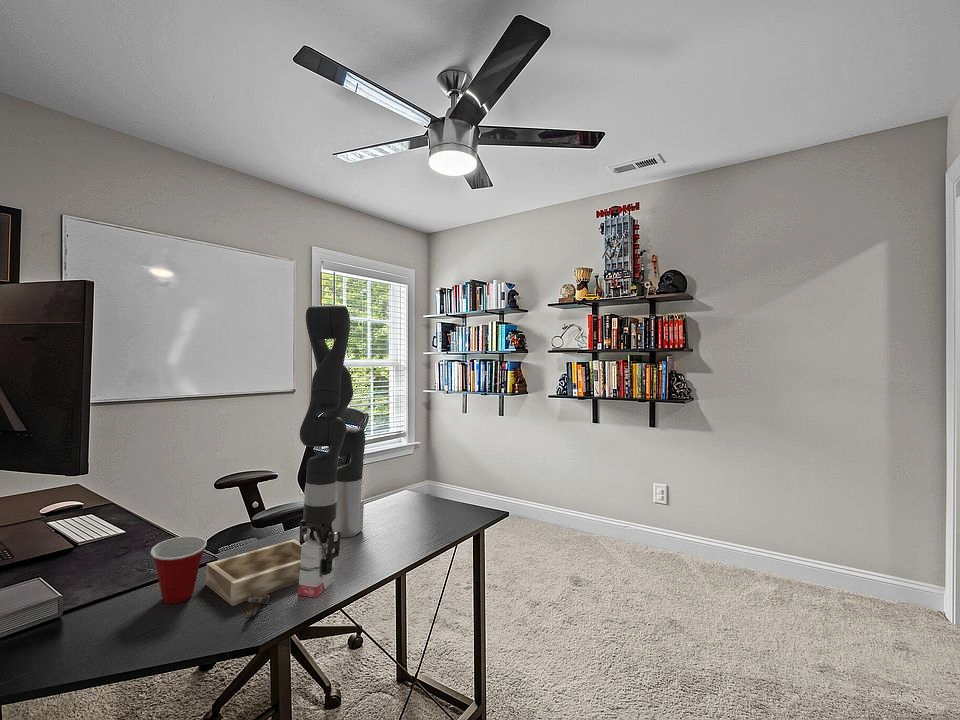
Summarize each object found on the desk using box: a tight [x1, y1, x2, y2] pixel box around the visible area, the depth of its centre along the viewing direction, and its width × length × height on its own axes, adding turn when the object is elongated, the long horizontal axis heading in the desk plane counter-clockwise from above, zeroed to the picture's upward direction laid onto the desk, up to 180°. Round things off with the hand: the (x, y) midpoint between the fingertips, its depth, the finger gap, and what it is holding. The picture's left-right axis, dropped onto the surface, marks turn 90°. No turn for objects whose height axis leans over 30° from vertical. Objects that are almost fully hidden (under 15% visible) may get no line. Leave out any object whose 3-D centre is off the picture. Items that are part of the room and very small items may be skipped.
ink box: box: [297, 539, 336, 599], centre depth 117 cm, size 9×5×12 cm, turn 168°
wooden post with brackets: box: [245, 594, 270, 620], centre depth 105 cm, size 2×8×4 cm, turn 179°
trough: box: [205, 538, 302, 607], centre depth 120 cm, size 22×14×5 cm, turn 140°
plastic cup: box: [150, 535, 207, 604], centre depth 110 cm, size 11×11×12 cm
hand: (317, 568), depth 117 cm, fingers open, 7 cm apart
